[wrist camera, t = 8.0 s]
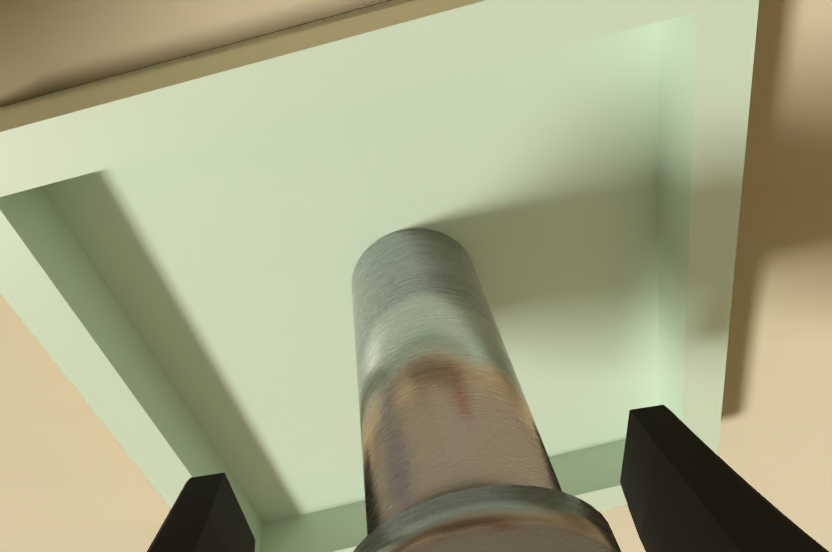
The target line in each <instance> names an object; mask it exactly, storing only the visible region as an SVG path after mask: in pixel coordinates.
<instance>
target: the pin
mask: <svg viewBox="0 0 832 552" xmlns="http://www.w3.org/2000/svg"><path fill="white" fill-rule="evenodd" d="M352 302H353V318H354V333H355V349H356V365H357V381H358V396H359V412H360V428H361V443H362V459H363V475H364V491H365V506H366V522H367V537H366V538H365V539H364V540H363V541H362V542H361V543H360V544H359V545H358V546H357V547H356V548H355V550H354V551H353V552H621V550H620V548H619V546H618V543H617V541H616V539H615V537H614V535H613V532H612V530H611V528H610V526H609V524H608V522H607V521H606V519H605V518H604V517H603V516H602V514H601V513H600V512H598V511H597V510H596V509H595V508H594V507H593V506H591V505H590V504H588V503H586V502H585V501H583V500H581V499H580V498H577V497H575V496H572V495H570V494H568V493H565V492H562V490H561V487H560V484H559V482H558V479H557V477H556V474H555V472H554V469H553V467H552V464H551V462H550V459H549V457H548V454H547V451H546V449H545V446H544V444H543V441H542V439H541V436H540V434H539V431H538V429H537V426H536V424H535V421H534V418H533V416H532V413H531V411H530V408H529V406H528V403H527V401H526V398H525V396H524V393H523V391H522V388H521V385H520V383H519V380H518V378H517V375H516V373H515V370H514V368H513V365H512V363H511V360H510V358H509V355H508V352H507V350H506V347H505V345H504V342H503V340H502V337H501V335H500V332H499V330H498V327H497V324H496V322H495V319H494V317H493V314H492V312H491V309H490V307H489V304H488V302H487V299H486V297H485V294H484V291H483V289H482V286H481V284H480V281H479V279H478V276H477V274H476V271H475V269H474V266H473V264H472V261H471V259H470V257H469V255H468V253H467V252H466V250H465V249H464V248H463V247H462V246H461V245H460V244H459V243H458V242H457V241H456V240H454V239H453V238H451V237H450V236H448V235H446V234H444V233H441V232H438V231H435V230H430V229H421V228H414V229H405V230H400V231H397V232H394V233H391V234H388V235H386V236H384V237H382V238H381V239H379V240H377V241H376V242H374V243H373V244H372V245H371V246H370V247H368V249H367V250H366V251H365V252H364V253H363V254H362V256H361V257H360V258H359V260H358V262H357V264H356V266H355V268H354V271H353V275H352Z"/></svg>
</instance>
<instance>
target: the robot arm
mask: <svg viewBox="0 0 832 552" xmlns="http://www.w3.org/2000/svg"><path fill="white" fill-rule="evenodd" d="M620 484H621V487H622V490H623V493H624V496H625V498H626V501H627V504H628V507H629V510H630V513H631V516H632V518H633V521H634V524H635V527H636V529H637V532H638V535H639V537H640V540H641V542H642V544H643V546H644V548H645V550H646V552H829V551H827V550H826V549H825V548H824V547H822V546H821V545H820V544H819V543H817V542H816V541H815V540H814V539H812V538H811V537H810V536H809V535H808V534H806V533H805V532H804V531H803V530H801V529H800V528H799V527H798V526H797V525H796V524H794V523H793V522H792V521H791V520H790V519H788V518H787V517H786V516H785V515H784V514H782V513H781V512H780V511H779V510H778V509H777V508H776V507H774V506H773V505H772V504H771V503H770V502H769V501H768V500H767V499H765V498H764V497H763V496H762V495H761V494H760V493H759V492H757V491H756V490H755V489H754V488H753V487H752V486H751V485H749V484H748V483H747V482H746V481H745V480H744V479H743V478H742V477H741V476H739V475H738V474H737V473H736V472H735V471H734V470H733V469H732V468H731V467H730V466H728V465H727V464H726V463H725V462H724V461H723V460H722V459H721V458H720V457H719V456H718V455H717V454H716V453H715V452H713V451H712V450H711V449H710V448H709V447H708V446H707V445H706V444H705V443H704V442H703V441H702V440H701V439H700V438H699V437H698V436H697V435H696V434H695V433H693V432H692V431H691V430H690V429H689V428H688V427H687V426H686V425H685V424H684V423H683V422H682V421H681V420H680V419H679V418H678V417H677V416H676V415H675V414H674V413H673V412H672V411H671V410H670V409H669V408H667V407H666V406H665V405H658V406H651V407H645V408H638V409H632V410H630V411H629V418H628V426H627V433H626V441H625V448H624V455H623V463H622V470H621V478H620ZM147 552H255V538H254V536H253V533H252V531H251V529H250V527H249V525H248V522H247V520H246V518H245V516H244V514H243V511H242V509H241V507H240V505H239V503H238V501H237V498H236V496H235V494H234V492H233V490H232V487H231V485H230V483H229V481H228V479H227V476H226V474H225V472H224V473H218V474H211V475H205V476H198V477H192V478H189V480H188V481H187V482H186V483H185V485H184V487H183V489H182V490H181V492H180V494H179V496H178V498H177V499H176V501H175V503H174V505H173V507H172V508H171V510H170V512H169V514H168V516H167V517H166V519H165V521H164V523H163V525H162V526H161V528H160V530H159V532H158V533H157V535H156V537H155V539H154V540H153V542H152V544H151V545H150V547H149V549H148V551H147Z"/></svg>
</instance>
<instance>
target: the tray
mask: <svg viewBox="0 0 832 552" xmlns="http://www.w3.org/2000/svg"><path fill="white" fill-rule="evenodd" d="M758 8H759V0H390V1H387V2H383V3H379V4H376V5H372V6H368V7H365V8H361V9H358V10H354V11H350V12H347V13H343V14H339V15H336V16H332V17H328V18H325V19H321V20H317V21H314V22H310V23H306V24H303V25H299V26H295V27H292V28H288V29H284V30H281V31H277V32H273V33H270V34H266V35H262V36H259V37H255V38H251V39H248V40H244V41H240V42H237V43H233V44H229V45H226V46H222V47H218V48H215V49H211V50H208V51H204V52H200V53H197V54H193V55H189V56H186V57H182V58H178V59H175V60H171V61H167V62H164V63H160V64H156V65H153V66H149V67H145V68H142V69H138V70H134V71H131V72H127V73H123V74H120V75H116V76H112V77H109V78H105V79H101V80H98V81H94V82H90V83H87V84H83V85H79V86H76V87H72V88H68V89H65V90H61V91H57V92H54V93H50V94H47V95H43V96H39V97H36V98H32V99H28V100H25V101H21V102H17V103H14V104H10V105H6V106H3V107H0V294H1V295H2V296H3V298H4V299H5V300H6V301H7V303H8V304H9V305H10V306H11V308H12V309H13V310H14V312H15V313H16V314H17V315H18V317H19V318H20V319H21V320H22V322H23V323H24V324H25V325H26V327H27V328H28V329H29V330H30V332H31V333H32V334H33V335H34V337H35V338H36V339H37V341H38V342H39V343H40V344H41V346H42V347H43V348H44V349H45V351H46V352H47V353H48V354H49V356H50V357H51V358H52V359H53V361H54V362H55V363H56V365H57V366H58V367H59V368H60V370H61V371H62V372H63V373H64V375H65V376H66V377H67V378H68V380H69V381H70V382H71V383H72V385H73V386H74V387H75V389H76V390H77V391H78V392H79V394H80V395H81V396H82V397H83V399H84V400H85V401H86V402H87V404H88V405H89V406H90V407H91V409H92V410H93V411H94V412H95V414H96V415H97V416H98V418H99V419H100V420H101V421H102V423H103V424H104V425H105V426H106V428H107V429H108V430H109V431H110V433H111V434H112V435H113V436H114V438H115V439H116V440H117V442H118V443H119V444H120V445H121V447H122V448H123V449H124V450H125V452H126V453H127V454H128V455H129V457H130V458H131V459H132V460H133V462H134V463H135V464H136V465H137V467H138V468H139V469H140V471H141V472H142V473H143V474H144V476H145V477H146V478H147V479H148V481H149V482H150V483H151V484H152V486H153V487H154V488H155V489H156V491H157V492H158V493H159V495H160V496H161V497H162V498H163V500H164V501H165V502H166V503H167V505H168V506H169V507H170V508H172V507H173V505H174V503H175V501H176V499H177V498H178V496H179V494H180V492H181V490H182V489H183V487H184V485H185V483H186V482H187V481H188V480H189V478H192V477H198V476H205V475H211V474H218V473H224V472H225V474H226V476H227V479H228V481H229V483H230V485H231V487H232V490H233V492H234V494H235V496H236V498H237V501H238V503H239V505H240V507H241V509H242V511H243V514H244V516H245V518H246V520H247V522H248V525H249V527H250V529H251V531H252V533H253V536H254V538H255V552H353V551H354V550H355V548H356V547H357V546H358V545H359V544H360V543H361V542H362V541H363V540H364V539H365V538H366V537H367V522H366V506H365V491H364V475H363V459H362V443H361V428H360V412H359V396H358V381H357V365H356V349H355V333H354V318H353V302H352V275H353V271H354V268H355V266H356V264H357V262H358V260H359V258H360V257H361V256H362V254H363V253H364V252H365V251H366V250H367V249H368V247H370V246H371V245H372V244H373V243H374V242H376V241H377V240H379V239H381V238H382V237H384V236H386V235H388V234H391V233H394V232H397V231H400V230H405V229H414V228H421V229H430V230H435V231H438V232H441V233H444V234H446V235H448V236H450V237H451V238H453V239H454V240H456V241H457V242H458V243H459V244H460V245H461V246H462V247H463V248H464V249H465V250H466V252H467V253H468V255H469V257H470V259H471V261H472V264H473V266H474V269H475V271H476V274H477V276H478V279H479V281H480V284H481V286H482V289H483V291H484V294H485V297H486V299H487V302H488V304H489V307H490V309H491V312H492V314H493V317H494V319H495V322H496V324H497V327H498V330H499V332H500V335H501V337H502V340H503V342H504V345H505V347H506V350H507V352H508V355H509V358H510V360H511V363H512V365H513V368H514V370H515V373H516V375H517V378H518V380H519V383H520V385H521V388H522V391H523V393H524V396H525V398H526V401H527V403H528V406H529V408H530V411H531V413H532V416H533V418H534V421H535V424H536V426H537V429H538V431H539V434H540V436H541V439H542V441H543V444H544V446H545V449H546V451H547V454H548V457H549V459H550V462H551V464H552V467H553V469H554V472H555V474H556V477H557V479H558V482H559V484H560V487H561V490H562V492H565V493H568V494H570V495H572V496H575V497H577V498H580V499H581V500H583V501H585V502H586V503H588V504H590V505H591V506H593V507H594V508H595V509H596V510H597V511H598V512H599V511H603V510H608V509H612V508H616V507H621V506H625V505H628V504H627V501H626V498H625V496H624V493H623V490H622V487H621V484H620V478H621V470H622V463H623V455H624V448H625V441H626V433H627V426H628V418H629V411H630V410H632V409H638V408H645V407H651V406H658V405H665V406H666V407H667V408H669V409H670V410H671V411H672V412H673V413H674V414H675V415H676V416H677V417H678V418H679V419H680V420H681V421H682V422H683V423H684V424H685V425H686V426H687V427H688V428H689V429H690V430H691V431H692V432H693V433H695V434H696V435H697V436H698V437H699V438H700V439H701V440H702V441H703V442H704V443H705V444H706V445H707V446H708V447H709V448H710V449H711V450H712V451H713V452H715V453H716V454H717V455H718V447H719V436H720V425H721V414H722V403H723V392H724V381H725V370H726V359H727V348H728V337H729V326H730V315H731V304H732V293H733V282H734V271H735V260H736V249H737V239H738V228H739V217H740V206H741V195H742V184H743V173H744V162H745V151H746V140H747V129H748V118H749V107H750V96H751V85H752V74H753V63H754V52H755V41H756V30H757V19H758Z"/></svg>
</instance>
